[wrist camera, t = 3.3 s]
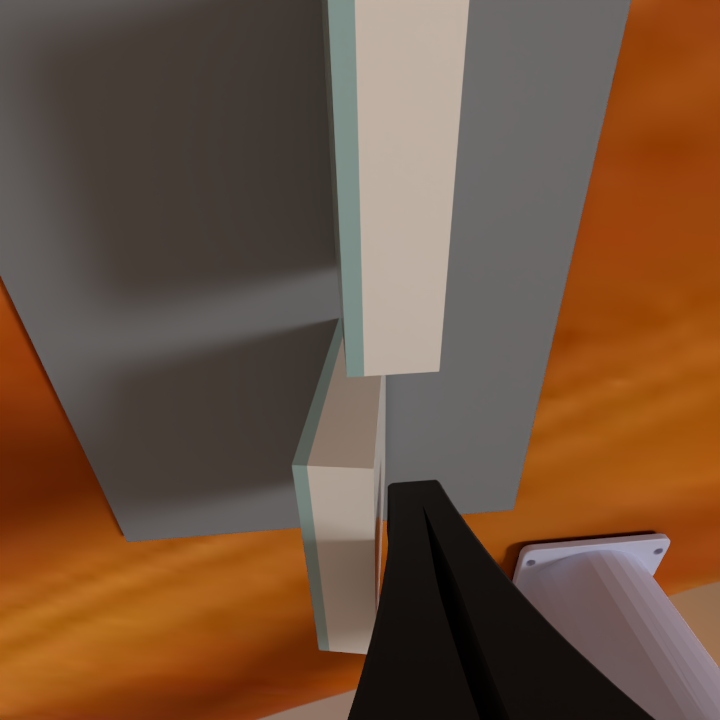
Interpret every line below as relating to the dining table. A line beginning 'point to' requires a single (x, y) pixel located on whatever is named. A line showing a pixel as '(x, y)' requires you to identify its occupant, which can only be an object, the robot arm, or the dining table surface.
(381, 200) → the tile
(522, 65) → the mat
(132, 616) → the dining table surface
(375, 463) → the tile
